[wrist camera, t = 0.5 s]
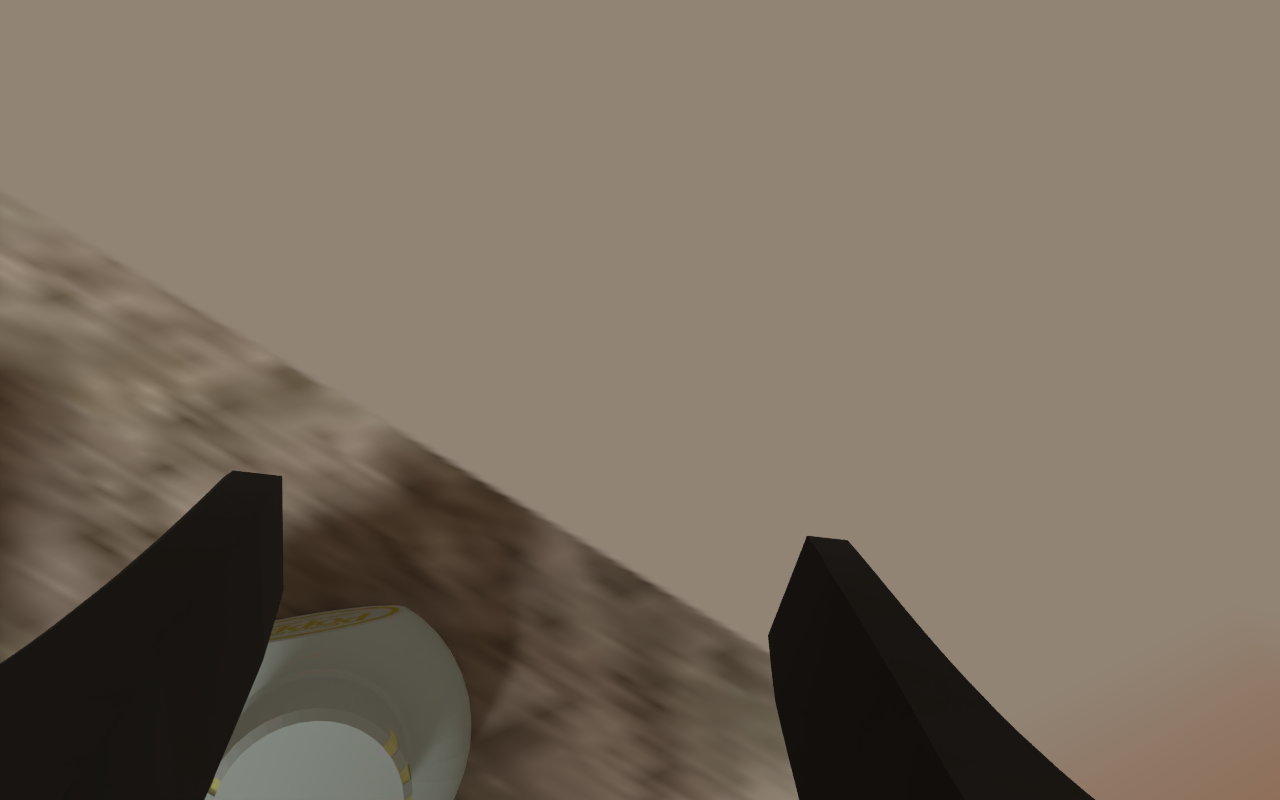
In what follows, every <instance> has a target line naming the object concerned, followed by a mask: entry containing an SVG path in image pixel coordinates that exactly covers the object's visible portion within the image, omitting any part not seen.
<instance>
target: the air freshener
mask: <svg viewBox="0 0 1280 800" xmlns="http://www.w3.org/2000/svg"><path fill="white" fill-rule="evenodd" d="M471 723H472V721H471V712H470V703H469V696H468V692H467V689H466V685H465V682H464V679H463V675H462V673H461V671H460V669H459V667H458V665H457V663H456V660H455V658H454V656H453V654H452V652H451V651H450V649H449V648H448V647H447V645H446V644H445V643H444V641H443V640H442V638H441V637H440V636H439V634H438V633H437V632H436V631H435V630H434V629H433V628H432V627H431V626H430V625H429V624H428V623H426V622H425V621H424V620H423V619H422V618H421V617H420V616H419V615H417V614H416V613H414V612H413V611H411V610H410V609H408V608H407V607H405V606H400V605H381V606H366V607H357V608H348V609H340V610H333V611H326V612H319V613H313V614H307V615H301V616H295V617H290V618H284V619H279V620H275V621H274V625H273V629H272V632H271V635H270V639H269V642H268V646H267V649H266V653H265V656H264V659H263V662H262V664H261V667H260V669H259V672H258V674H257V677H256V679H255V681H254V684H253V686H252V689H251V691H250V693H249V696H248V698H247V701H246V703H245V705H244V708H243V710H242V713H241V715H240V717H239V720H238V722H237V724H236V727H235V729H234V732H233V734H232V736H231V739H230V741H229V743H228V746H227V748H226V750H225V753H224V755H223V758H222V760H221V762H220V765H219V767H218V769H217V772H216V774H215V776H214V779H213V781H212V784H211V786H210V788H209V791H208V793H207V795H206V798H205V800H454V798H455V796H456V794H457V791H458V788H459V786H460V783H461V781H462V778H463V775H464V773H465V769H466V764H467V760H468V755H469V751H470V742H471Z"/></svg>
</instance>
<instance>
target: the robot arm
mask: <svg viewBox="0 0 1280 800" xmlns="http://www.w3.org/2000/svg"><path fill="white" fill-rule="evenodd" d="M282 592H283V516H282V476H276V475H268V474H259V473H250V472H241V471H232V472H230V473H229V474H227V475H226V476H224V477H223V478H222V479H221V480H220V481H219V482H218V483H217V484H216V485H215V486H214V487H213V488H212V489H211V490H210V491H209V492H208V493H207V494H206V495H205V496H204V497H203V498H202V499H201V500H200V501H199V502H198V503H197V504H196V505H194V506H193V507H192V508H191V509H190V510H189V511H188V512H187V513H186V514H185V515H184V516H183V517H182V518H181V519H180V520H179V521H177V522H176V523H175V524H174V525H173V526H172V527H171V528H170V529H169V530H168V531H167V532H166V533H164V534H163V535H162V536H161V537H160V538H159V539H158V540H157V541H156V542H154V543H153V544H152V545H151V546H150V547H149V548H148V549H146V550H145V551H144V552H143V553H142V554H141V555H140V556H138V557H137V558H136V559H135V560H134V561H133V562H131V563H130V564H129V565H128V566H127V567H126V568H125V569H123V570H122V571H121V572H120V573H119V574H118V575H117V576H115V577H114V578H113V579H112V580H111V581H109V582H108V583H107V584H106V585H104V586H103V587H102V588H101V589H99V590H98V591H97V592H96V593H94V594H93V595H92V596H91V597H89V598H88V599H87V600H85V601H84V602H83V603H82V604H80V605H79V606H78V607H77V608H75V609H74V610H73V611H71V612H70V613H69V614H68V615H66V616H65V617H64V618H63V619H61V620H60V621H59V622H57V623H56V624H55V625H54V626H52V627H51V628H50V629H48V630H47V631H46V632H44V633H43V634H41V635H40V636H39V637H37V638H36V639H35V640H33V641H32V642H31V643H29V644H28V645H26V646H25V647H24V648H22V649H21V650H19V651H18V652H16V653H15V654H14V655H12V656H11V657H9V658H8V659H6V660H5V661H4V662H2V663H1V664H0V800H205V798H206V795H207V793H208V791H209V788H210V786H211V784H212V781H213V779H214V776H215V774H216V772H217V769H218V767H219V765H220V762H221V760H222V758H223V755H224V753H225V750H226V748H227V746H228V743H229V741H230V739H231V736H232V734H233V732H234V729H235V727H236V724H237V722H238V720H239V717H240V715H241V713H242V710H243V708H244V705H245V703H246V701H247V698H248V696H249V693H250V691H251V689H252V686H253V684H254V681H255V679H256V677H257V674H258V672H259V669H260V667H261V664H262V662H263V659H264V656H265V653H266V649H267V646H268V642H269V639H270V635H271V632H272V629H273V625H274V621H275V618H276V614H277V611H278V607H279V603H280V600H281V596H282ZM768 639H769V649H770V660H771V670H772V678H773V686H774V694H775V702H776V706H777V711H778V715H779V719H780V723H781V728H782V732H783V736H784V740H785V744H786V748H787V752H788V757H789V761H790V764H791V768H792V772H793V776H794V780H795V784H796V788H797V792H798V796H799V800H1095V799H1094V798H1092V797H1091V796H1090V795H1089V794H1087V793H1086V792H1085V791H1084V790H1083V789H1081V788H1080V787H1079V786H1078V785H1077V784H1076V783H1074V782H1073V781H1072V780H1071V779H1070V778H1068V777H1067V776H1066V775H1065V774H1064V773H1063V772H1062V771H1060V770H1059V769H1058V768H1057V767H1056V766H1055V765H1054V764H1053V763H1052V762H1050V761H1049V760H1048V759H1047V758H1046V757H1045V756H1044V755H1043V754H1042V753H1041V752H1040V751H1038V750H1037V749H1036V748H1035V747H1034V746H1033V745H1032V744H1031V743H1030V742H1029V741H1027V740H1026V739H1025V738H1024V737H1023V736H1022V735H1021V734H1020V733H1019V732H1018V731H1017V730H1015V728H1014V727H1013V726H1012V725H1011V724H1010V723H1009V722H1007V721H1006V720H1005V719H1004V718H1003V717H1002V716H1001V715H1000V714H999V713H998V712H997V711H996V710H995V709H994V707H992V706H991V704H990V703H989V702H988V701H987V700H986V699H985V698H984V697H983V696H982V695H981V694H980V693H979V692H978V691H977V690H976V689H975V688H974V687H973V686H972V684H970V682H969V681H968V680H967V679H966V678H965V677H964V676H963V675H962V674H961V673H960V672H959V671H958V670H957V668H956V667H955V666H954V665H953V664H952V663H951V662H950V661H949V660H948V658H947V657H946V656H945V655H944V654H943V653H942V652H941V651H940V649H939V648H938V647H937V646H936V645H935V644H934V643H933V641H932V640H931V639H930V638H929V637H928V636H927V635H926V633H925V632H924V631H923V630H922V629H921V627H920V626H919V625H918V624H917V623H916V622H915V620H914V619H913V618H912V617H911V616H910V614H909V613H908V612H907V611H906V610H905V608H904V607H903V606H902V605H901V604H900V602H899V601H898V600H897V599H896V598H895V596H894V595H893V594H892V593H891V592H890V590H889V589H888V588H887V587H886V586H885V584H884V583H883V582H882V581H881V579H880V578H879V577H878V576H877V575H876V573H875V572H874V571H873V570H872V569H871V567H870V566H869V565H868V564H867V562H866V561H865V560H864V559H863V558H862V557H861V555H860V554H859V553H858V552H857V551H856V549H855V548H854V547H853V546H852V545H851V544H850V543H849V541H847V540H840V539H831V538H822V537H813V536H807V537H806V540H805V543H804V545H803V548H802V551H801V553H800V555H799V558H798V560H797V563H796V566H795V568H794V571H793V573H792V576H791V578H790V581H789V584H788V586H787V589H786V591H785V594H784V596H783V599H782V601H781V604H780V606H779V609H778V612H777V614H776V617H775V619H774V622H773V624H772V627H771V630H770V632H769V635H768Z"/></svg>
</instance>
